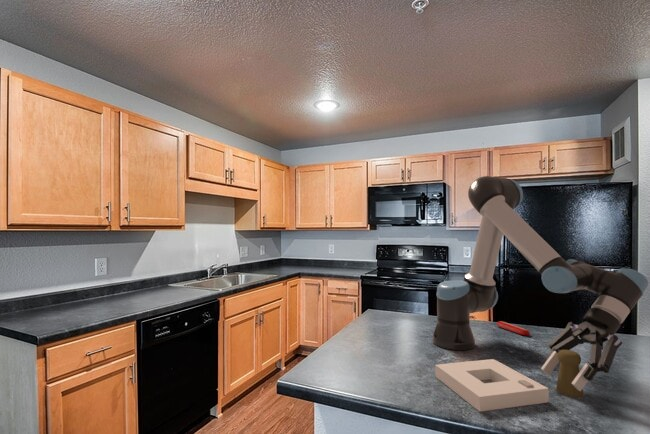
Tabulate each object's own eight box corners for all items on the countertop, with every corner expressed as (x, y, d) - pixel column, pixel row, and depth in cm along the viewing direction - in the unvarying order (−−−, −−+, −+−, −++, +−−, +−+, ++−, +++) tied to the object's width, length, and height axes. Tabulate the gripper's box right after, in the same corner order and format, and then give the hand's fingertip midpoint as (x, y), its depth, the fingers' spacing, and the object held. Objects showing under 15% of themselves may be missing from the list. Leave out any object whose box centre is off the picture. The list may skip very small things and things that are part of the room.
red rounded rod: (532, 337, 140) (532, 329, 141) (525, 337, 139) (524, 330, 139) (501, 326, 156) (501, 319, 156) (494, 326, 155) (494, 320, 155)
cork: (588, 398, 89) (587, 356, 89) (562, 396, 90) (561, 354, 91) (576, 388, 95) (575, 348, 95) (552, 386, 96) (551, 346, 97)
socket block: (435, 376, 102) (435, 363, 103) (493, 370, 107) (493, 357, 107) (479, 411, 83) (479, 394, 83) (548, 402, 87) (548, 386, 87)
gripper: (657, 336, 86) (608, 408, 82) (577, 315, 107) (535, 372, 103) (640, 316, 85) (590, 388, 81) (563, 299, 106) (520, 355, 102)
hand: (559, 379), depth 92 cm, fingers open, 9 cm apart
